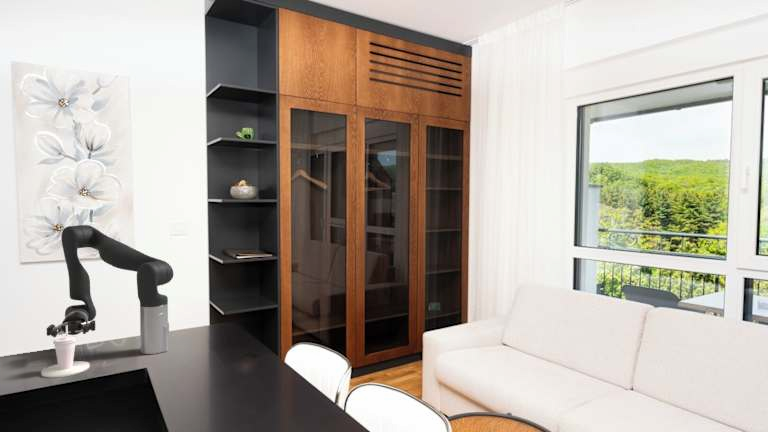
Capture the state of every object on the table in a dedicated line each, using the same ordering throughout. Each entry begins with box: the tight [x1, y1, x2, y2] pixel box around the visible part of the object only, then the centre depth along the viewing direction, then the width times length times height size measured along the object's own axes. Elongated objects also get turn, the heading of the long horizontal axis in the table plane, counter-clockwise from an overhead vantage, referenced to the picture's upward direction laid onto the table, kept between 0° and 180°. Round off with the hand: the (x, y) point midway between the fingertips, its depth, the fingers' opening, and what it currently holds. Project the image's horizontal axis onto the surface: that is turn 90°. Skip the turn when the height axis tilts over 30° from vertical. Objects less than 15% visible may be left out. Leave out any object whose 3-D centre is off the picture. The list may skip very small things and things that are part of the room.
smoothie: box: [52, 325, 78, 370], centre depth 149 cm, size 6×6×14 cm
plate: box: [40, 360, 91, 379], centre depth 149 cm, size 13×13×1 cm
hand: (69, 332), depth 157 cm, fingers open, 8 cm apart
